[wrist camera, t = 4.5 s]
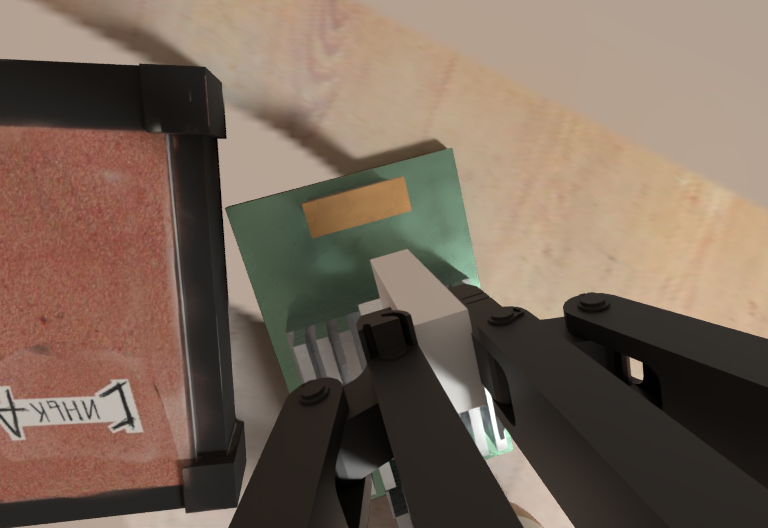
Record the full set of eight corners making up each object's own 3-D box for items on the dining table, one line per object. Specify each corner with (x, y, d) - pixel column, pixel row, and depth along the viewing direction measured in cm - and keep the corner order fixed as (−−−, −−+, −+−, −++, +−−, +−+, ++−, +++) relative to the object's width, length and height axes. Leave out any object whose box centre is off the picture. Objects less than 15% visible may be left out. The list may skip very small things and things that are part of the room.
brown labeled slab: (-111, 70, 24) (-215, 46, 19) (223, 83, 27) (205, 66, 22) (-19, 482, 30) (-82, 544, 25) (247, 456, 33) (237, 507, 28)
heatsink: (330, 503, 34) (336, 586, 28) (227, 206, 28) (203, 220, 21) (507, 442, 36) (553, 506, 29) (447, 148, 30) (488, 144, 23)
